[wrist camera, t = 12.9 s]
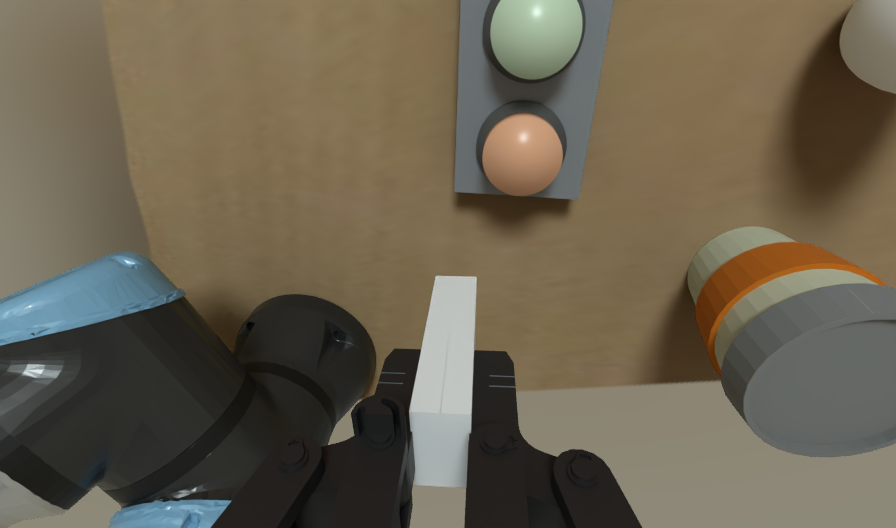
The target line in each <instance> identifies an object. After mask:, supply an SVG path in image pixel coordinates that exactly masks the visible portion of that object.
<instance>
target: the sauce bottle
mask: <svg viewBox="0 0 896 528" xmlns="http://www.w3.org/2000/svg"><path fill="white" fill-rule="evenodd" d="M839 43H840V50H841V55H842V58H843V59H844V61H845V63H846V65H847V67H848V68H849V69H850V70H851V71H852V72H853V73H854V74H855V75H856V76H857V77H858V78H860V79H861V80H863V81H864V82H866V83H868V84H870V85H872V86H874V87H876V88H878V89H881V90H883V91H887V92H890V93H894V94H896V0H857V1H856V2H855V4H854V5H853V6H852V8H851V10H850V11H849V13H848V14H847V16H846V19H845V21H844V23H843V26H842V29H841V33H840V42H839Z"/></svg>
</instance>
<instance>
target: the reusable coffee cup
mask: <svg viewBox="0 0 896 528" xmlns="http://www.w3.org/2000/svg"><path fill="white" fill-rule="evenodd" d="M687 282H688V287H689V290H690V293H691V295H692V298H693V300H694V303H695V306H696V308H695V315H696V322H697V325H698V328H699V330H700V333H701V336H702V338H703V341H704V344H705V346H706V349H707V352H708V354H709V357H710V360H711V362H712V365H713V366H714V368H715V369H716V371H717V372H718V374H719V375H720V376H721V383H722V386H723V389H724V392H725V394H726V396H727V397H728V399H729V400H730V402H731V403H732V405H733V406H734V407H735V409H736V410H737V411H738V412H739V414H740V415H741V416H742V418H743V419H744V420H745V422H746V423H747V424H748V426H749V427H750V428H751V429H752V431H753V432H754V433H755V434H756V435H757V436H758V437H759V438H761V439H762V440H763V441H764V442H766V443H768V444H769V445H771V446H773V447H775V448H777V449H780V450H783V451H786V452H790V453H793V454H798V455H804V456H810V457H838V456H850V455H855V454H860V453H865V452H871V451H873V450H877V449H880V448H883V447H887V446H890V445H892V444H895V443H896V289H894V288H891V287H888V286H886V285H885V284H884V283H883V282H882V281H881V280H880V279H879V278H877V277H876V276H874V275H873V274H871V273H869V272H868V271H866V270H864V269H862V268H860V267H858V266H856V265H854V264H852V263H850V262H848V261H846V260H844V259H842V258H840V257H838V256H836V255H834V254H832V253H830V252H828V251H826V250H824V249H822V248H820V247H817V246H814V245H811V244H806V243H799V242H796V241H794V240H793V239H791V238H789V237H787V236H785V235H783V234H781V233H779V232H777V231H775V230H772V229H769V228H764V227H757V226H756V227H743V228H737V229H733V230H731V231H728V232H725V233H723V234H721V235H719V236H717V237H715V238H713V239H712V240H711V241H709V242H708V243H707V244H705V245H704V246H703V247H702V248H701V249H700V250H699V251H698V253H697V254H696V255H695V257H694V258H693V260H692V262H691V264H690V267H689V270H688V275H687Z"/></svg>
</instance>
